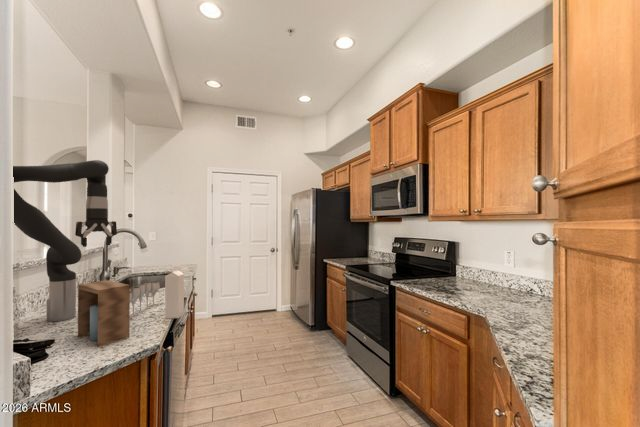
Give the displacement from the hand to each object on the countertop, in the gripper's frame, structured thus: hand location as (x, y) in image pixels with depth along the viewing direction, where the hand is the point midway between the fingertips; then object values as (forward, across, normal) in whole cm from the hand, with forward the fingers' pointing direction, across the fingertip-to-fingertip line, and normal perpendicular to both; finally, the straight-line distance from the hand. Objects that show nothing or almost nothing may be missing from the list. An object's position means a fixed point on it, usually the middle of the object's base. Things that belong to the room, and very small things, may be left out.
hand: (96, 245), depth 128 cm
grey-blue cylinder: (+33, -6, -18) cm, 38 cm away
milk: (+33, +24, -18) cm, 45 cm away
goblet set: (+33, +19, +2) cm, 38 cm away
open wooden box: (+33, -4, -18) cm, 38 cm away
